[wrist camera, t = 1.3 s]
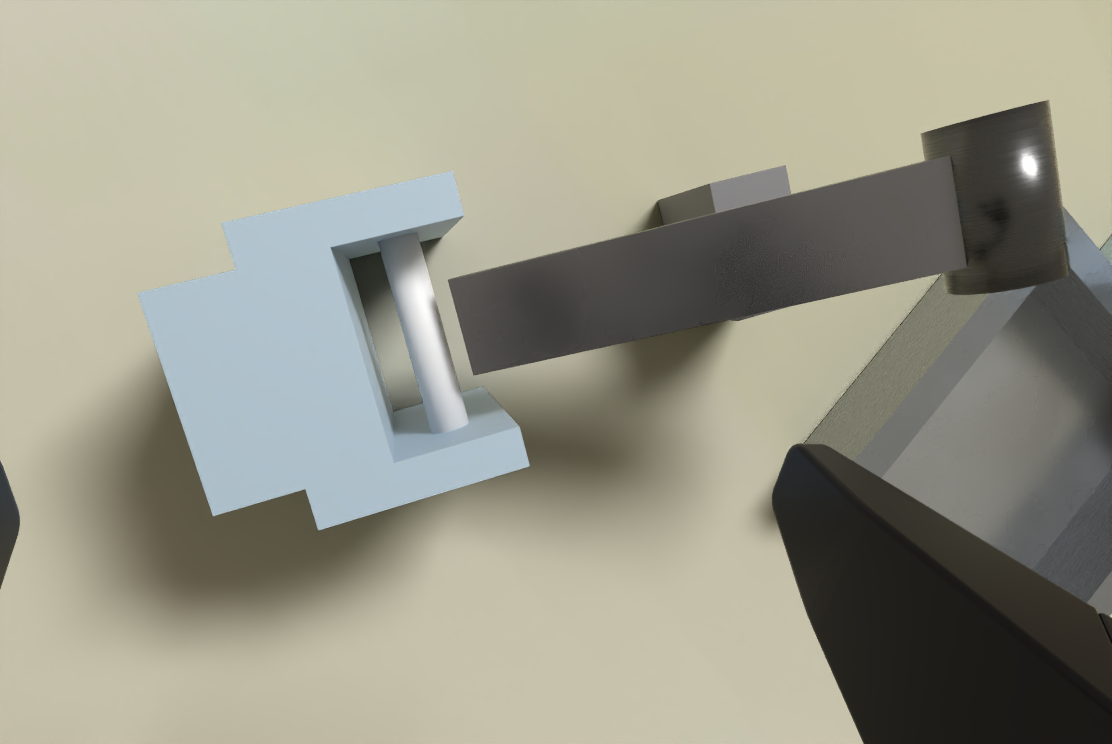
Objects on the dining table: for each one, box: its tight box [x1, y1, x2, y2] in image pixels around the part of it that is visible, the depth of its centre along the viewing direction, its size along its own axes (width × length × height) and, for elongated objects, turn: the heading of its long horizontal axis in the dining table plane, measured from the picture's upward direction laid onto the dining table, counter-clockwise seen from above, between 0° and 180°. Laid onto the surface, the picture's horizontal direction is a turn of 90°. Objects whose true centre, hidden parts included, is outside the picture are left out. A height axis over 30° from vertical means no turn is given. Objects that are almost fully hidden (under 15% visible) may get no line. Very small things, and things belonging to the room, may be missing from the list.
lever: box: [448, 100, 1071, 375], centre depth 17 cm, size 4×14×2 cm, turn 105°
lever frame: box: [137, 165, 791, 530], centre depth 21 cm, size 7×17×7 cm, turn 104°
